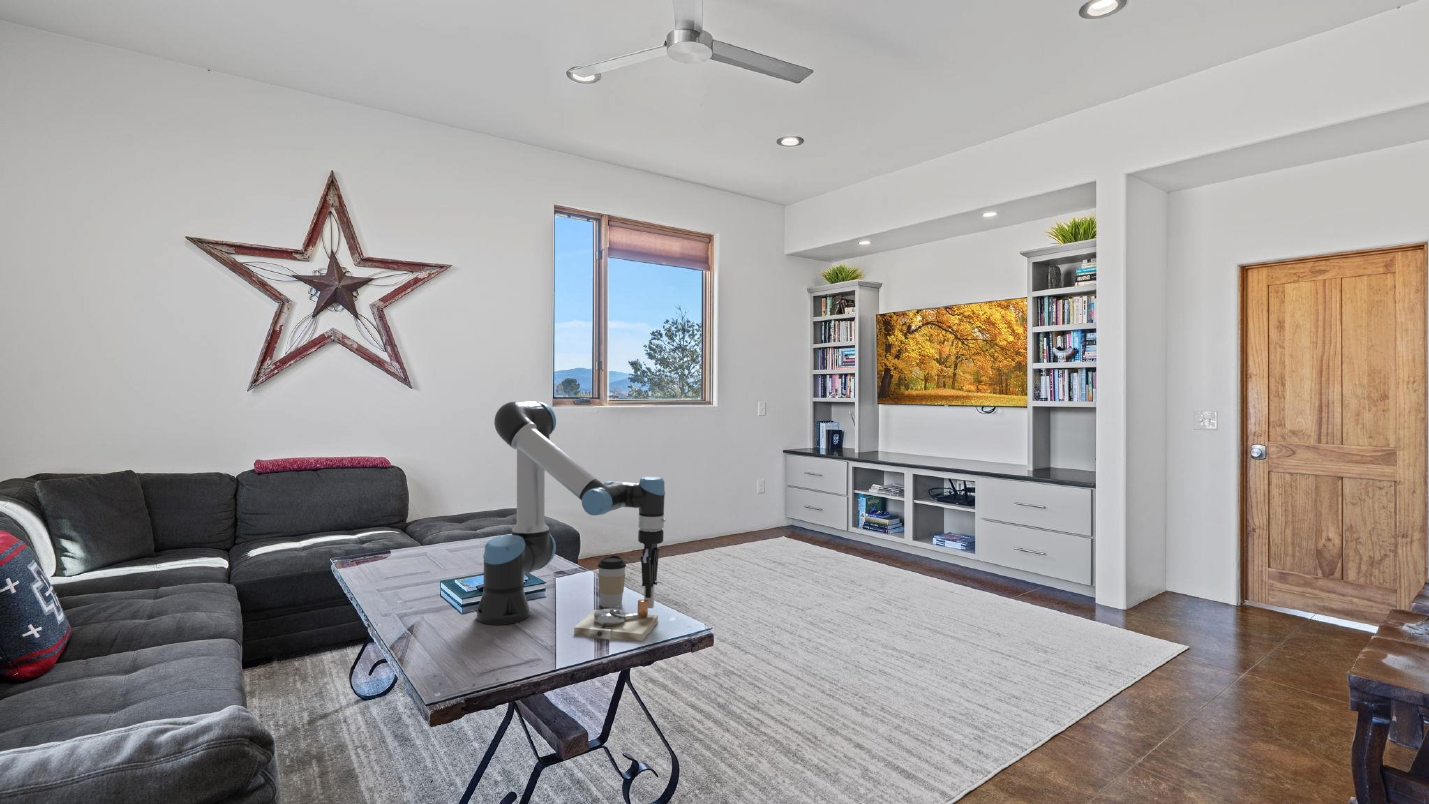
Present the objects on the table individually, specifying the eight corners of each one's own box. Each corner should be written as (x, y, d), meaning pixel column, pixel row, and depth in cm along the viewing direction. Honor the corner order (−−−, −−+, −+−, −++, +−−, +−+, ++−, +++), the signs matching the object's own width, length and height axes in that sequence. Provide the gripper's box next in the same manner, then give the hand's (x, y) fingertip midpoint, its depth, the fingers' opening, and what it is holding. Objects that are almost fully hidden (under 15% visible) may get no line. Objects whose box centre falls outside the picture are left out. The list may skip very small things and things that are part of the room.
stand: (571, 636, 191) (571, 628, 191) (594, 615, 208) (594, 608, 208) (639, 643, 187) (640, 635, 187) (657, 622, 205) (657, 614, 205)
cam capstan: (599, 628, 191) (599, 612, 191) (590, 617, 200) (591, 601, 200) (653, 622, 198) (653, 606, 198) (642, 611, 207) (643, 596, 207)
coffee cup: (619, 609, 215) (620, 562, 214) (592, 607, 216) (593, 560, 216) (628, 601, 223) (630, 555, 223) (602, 598, 225) (603, 553, 225)
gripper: (657, 534, 197) (655, 615, 198) (668, 525, 210) (666, 601, 210) (632, 532, 198) (630, 613, 199) (645, 524, 211) (643, 599, 212)
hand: (648, 607), depth 205 cm, fingers closed
